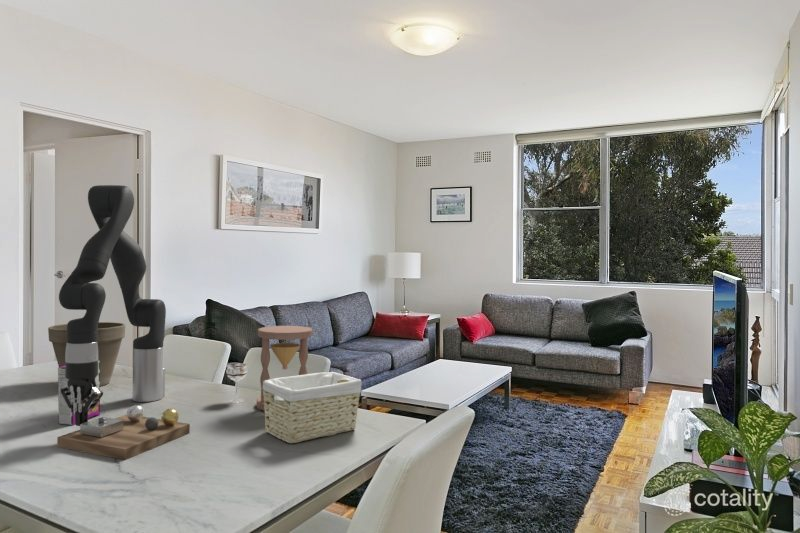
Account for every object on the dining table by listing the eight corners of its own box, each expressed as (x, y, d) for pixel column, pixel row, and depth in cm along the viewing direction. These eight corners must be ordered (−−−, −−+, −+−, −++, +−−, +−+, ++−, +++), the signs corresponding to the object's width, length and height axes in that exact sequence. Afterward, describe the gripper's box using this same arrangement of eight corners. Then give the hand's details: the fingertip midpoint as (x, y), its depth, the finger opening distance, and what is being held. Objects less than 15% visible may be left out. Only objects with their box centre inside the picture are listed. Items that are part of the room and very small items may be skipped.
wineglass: (250, 399, 192) (250, 363, 192) (242, 404, 186) (243, 367, 185) (230, 398, 193) (231, 362, 193) (222, 403, 186) (223, 366, 186)
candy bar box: (86, 413, 171) (86, 359, 171) (100, 415, 170) (101, 360, 170) (56, 424, 160) (57, 366, 160) (72, 425, 159) (72, 367, 159)
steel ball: (135, 418, 160) (135, 402, 159) (147, 420, 158) (148, 404, 158) (122, 422, 155) (123, 406, 155) (135, 424, 154) (135, 408, 154)
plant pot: (52, 379, 215) (53, 322, 214) (125, 374, 225) (125, 320, 224) (42, 394, 192) (43, 330, 191) (124, 389, 202) (124, 328, 202)
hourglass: (305, 397, 197) (306, 324, 196) (316, 410, 180) (318, 331, 180) (253, 400, 190) (254, 326, 190) (259, 414, 174) (261, 333, 174)
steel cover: (103, 425, 151) (103, 413, 151) (123, 429, 148) (123, 416, 148) (80, 433, 144) (80, 420, 144) (100, 437, 142) (101, 423, 142)
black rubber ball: (151, 427, 152) (151, 415, 152) (160, 428, 151) (161, 416, 151) (142, 430, 149) (142, 418, 149) (151, 432, 148) (151, 419, 148)
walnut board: (127, 423, 163) (127, 414, 163) (189, 433, 155) (189, 423, 155) (57, 446, 142) (57, 436, 142) (125, 459, 135) (125, 449, 135)
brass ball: (169, 421, 157) (169, 406, 157) (182, 423, 155) (182, 407, 155) (157, 426, 153) (157, 410, 152) (170, 428, 151) (170, 411, 151)
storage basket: (330, 417, 173) (331, 369, 173) (363, 430, 161) (364, 379, 161) (258, 432, 157) (259, 379, 157) (288, 448, 145) (289, 391, 145)
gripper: (113, 359, 150) (112, 424, 150) (76, 354, 154) (75, 418, 155) (88, 363, 142) (87, 432, 143) (50, 359, 147) (49, 426, 148)
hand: (81, 425), depth 149 cm, fingers closed
